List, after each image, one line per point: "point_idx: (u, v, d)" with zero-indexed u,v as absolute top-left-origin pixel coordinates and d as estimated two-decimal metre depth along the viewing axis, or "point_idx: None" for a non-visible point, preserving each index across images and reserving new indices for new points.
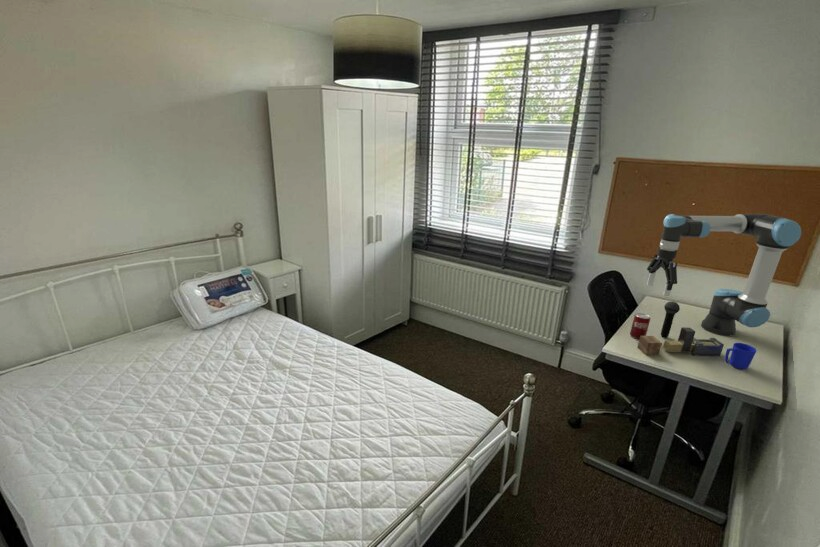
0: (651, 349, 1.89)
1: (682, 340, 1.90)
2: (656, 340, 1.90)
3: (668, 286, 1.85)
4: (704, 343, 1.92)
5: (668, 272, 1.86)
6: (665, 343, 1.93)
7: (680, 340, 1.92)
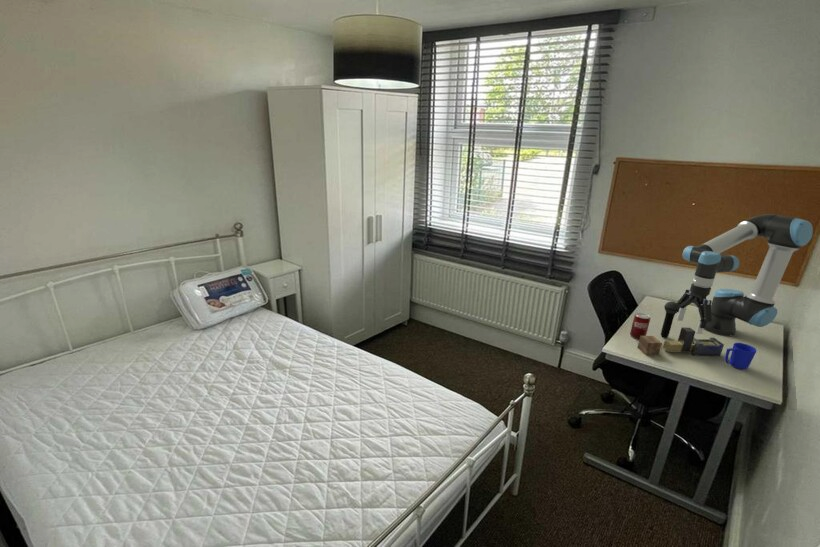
0: (651, 349, 1.89)
1: (682, 340, 1.90)
2: (656, 340, 1.90)
3: (702, 324, 1.80)
4: (704, 343, 1.92)
5: (702, 309, 1.80)
6: (665, 343, 1.93)
7: (680, 340, 1.92)
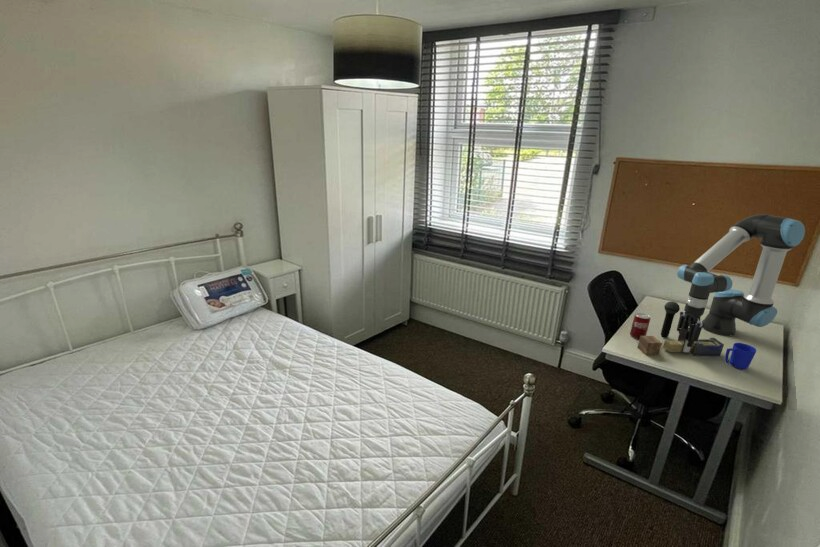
0: (651, 349, 1.89)
1: (682, 340, 1.90)
2: (656, 340, 1.90)
3: (688, 343, 1.88)
4: (704, 343, 1.92)
5: (692, 329, 1.86)
6: (665, 343, 1.93)
7: (680, 340, 1.92)
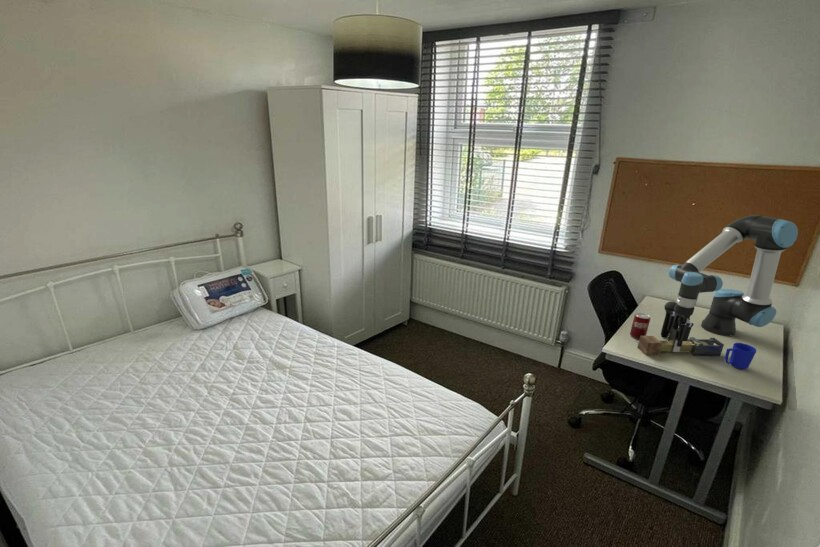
0: (651, 349, 1.89)
1: (672, 340, 1.90)
2: (656, 340, 1.90)
3: (678, 342, 1.88)
4: (694, 343, 1.92)
5: (681, 329, 1.86)
6: None
7: (670, 340, 1.91)
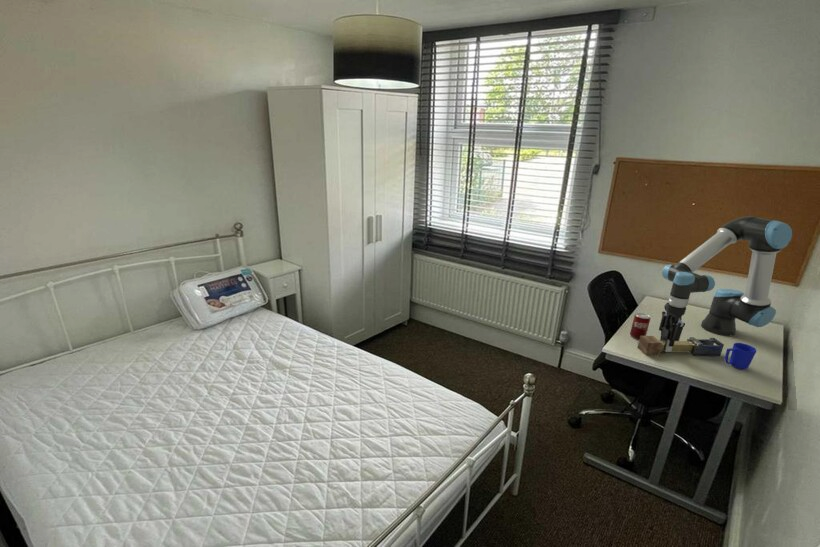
0: (651, 349, 1.89)
1: (664, 340, 1.90)
2: (656, 340, 1.90)
3: (670, 342, 1.88)
4: (686, 343, 1.92)
5: (673, 329, 1.86)
6: None
7: (662, 340, 1.91)
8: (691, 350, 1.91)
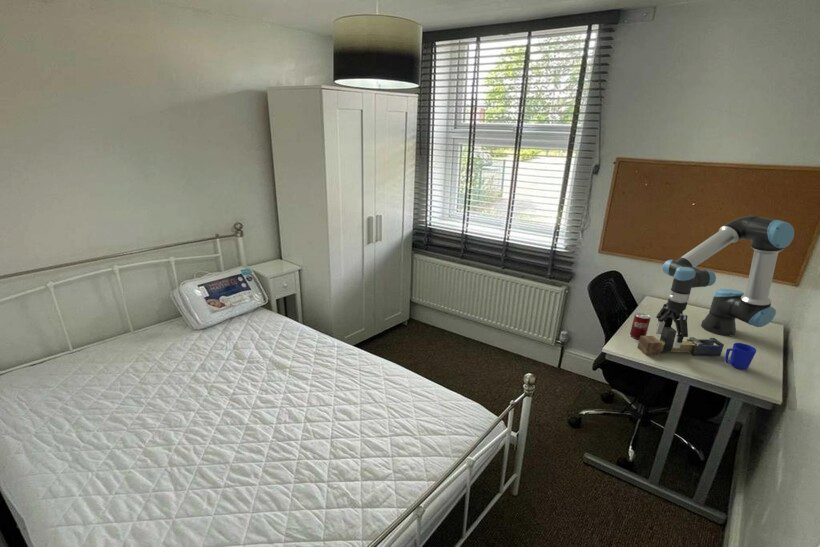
0: (651, 349, 1.89)
1: (664, 340, 1.90)
2: (656, 340, 1.90)
3: (679, 338, 1.82)
4: (686, 343, 1.92)
5: (678, 324, 1.83)
6: None
7: (662, 340, 1.91)
8: (691, 350, 1.91)
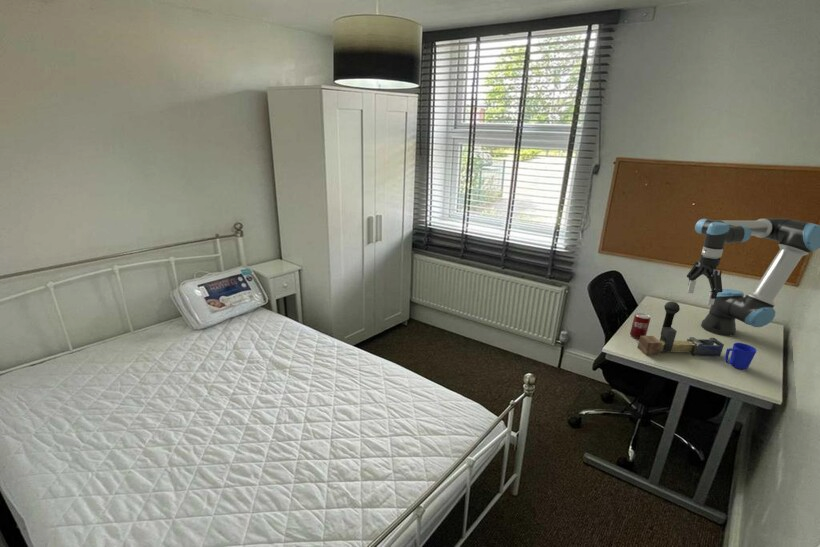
0: (651, 349, 1.89)
1: (664, 340, 1.90)
2: (656, 340, 1.90)
3: (712, 294, 1.81)
4: (686, 343, 1.92)
5: (712, 280, 1.82)
6: None
7: (662, 340, 1.91)
8: (691, 350, 1.91)
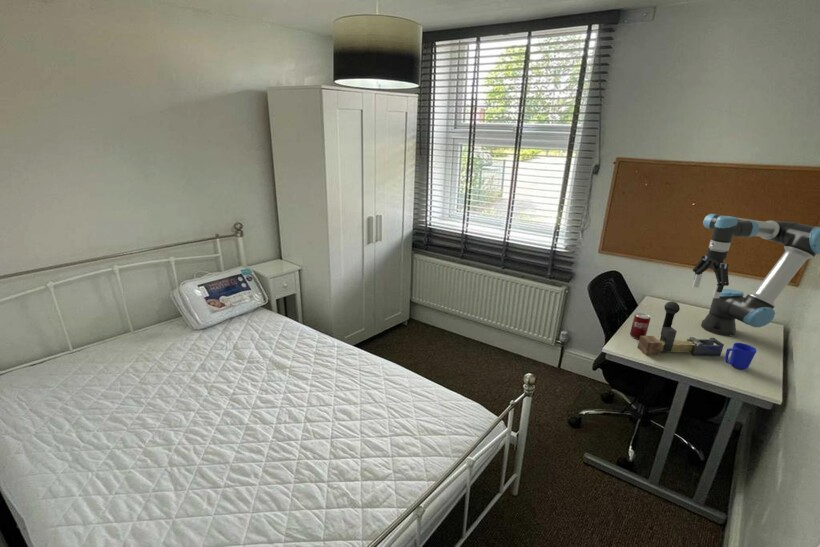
0: (651, 349, 1.89)
1: (664, 340, 1.90)
2: (656, 340, 1.90)
3: (719, 288, 1.82)
4: (686, 343, 1.92)
5: (718, 273, 1.82)
6: None
7: (662, 340, 1.91)
8: (691, 350, 1.91)
